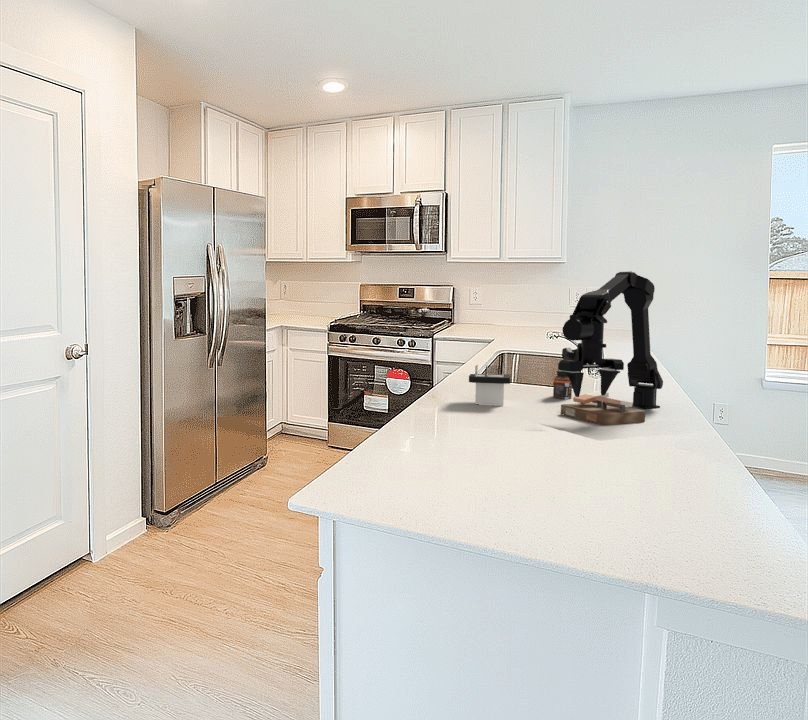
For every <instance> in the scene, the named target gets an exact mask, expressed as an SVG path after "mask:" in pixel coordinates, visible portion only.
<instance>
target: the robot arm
mask: <svg viewBox="0 0 808 720" xmlns="http://www.w3.org/2000/svg"><path fill="white" fill-rule="evenodd" d="M621 294H622V295H623V298H624V303H625V304H626V306H627V307H628V309H629V310H630V314H631V315H630V316H631V317H630V318H631V332H632V333H631V334H632V352H633V353H632V354H633V356H632V358H631V360H630V361H629V362H628V363H627V378H628V379H627V380H628V386H629V387H633V389H634V390H633V396H632V403H633V404H632V407H637V408H641V409H655V408H657V407H658V408H660V407H661V406H660V405H657V391H658V390H662V388H663V385H664V380H663V378H662V376H661V374H660V372H659V370H658V364H657V361H656V359H654V357H653V356H652V354H651V341H650V340H651V339H650V321H649V320H650V319H649V317H650V316H649V308H650V306H651V304H652V302H653V300H654V294H655V284H654V283H653V282H652V281H651V280H650V279H648V278H647V277H643V276H641V275H639V274H637V273H636V272H633V271H632V270H631V271H630V270H629V271H619V272H617V273H616V274H615V275H614V277H612V278H611V279H610V280H608V281H607V282H606V283H605V284H604V285H602V286H601V287H600V288H598V289H597V290H592V291H588V292H586V293H584V294H582V295H581V296H580V297H579V299H578V302H577V304H576V306H575V309H574V310H573V313H572V314H570V315H569V319H567V320H566V322H564V324H563V327H562V335H563V337H565V339H566V340H568V341H581V342H578V343H577V348H576V349H572V348H571V347H564V348H562V351H561V357H562V359H560V360H559V362H558V363H557V370H563V371H562V373H565V374H566V375H567V376H568V378H569V380H570V382H571V385H572V392H573V394H574V397H579V396H580V394H581V390H582V385H583V379H584V372H582V371H583V370H584V369H598V370H597V372H598V373H599V375H600V391H601V395H605V394H606V392H607V393H608V391H609V388H610V386H611V385H612V384H613V382H614V380H615V379H616V377H617V375H618V374H621V371H622V370H623V371H624V369H625V368H624V367H625V363H624V361H623V359H618V358H617V359H616V358H603V352H604V351H603V350H604V348H605V349H606V348H607V343H604V329H605V328H604V326H605V324H608V320H607V319H606V318H605V317H604V316H605V315H606V314H607V312H608V311H610V309H611V308H612V302H613V301H614V300H615V299H617V298H618V296H620V295H621Z"/></svg>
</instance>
